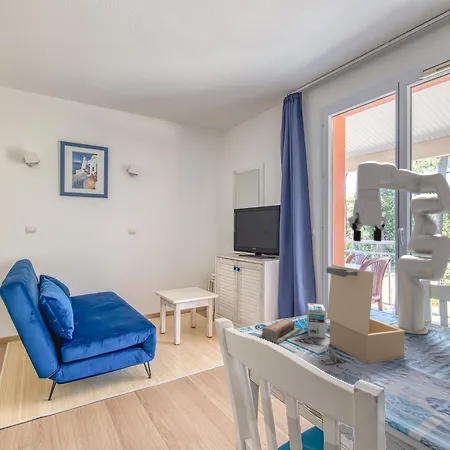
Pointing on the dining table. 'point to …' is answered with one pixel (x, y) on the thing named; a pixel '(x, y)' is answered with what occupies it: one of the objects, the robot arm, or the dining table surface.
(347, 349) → the kraft carton
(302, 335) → the dining table surface
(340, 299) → the carton lid
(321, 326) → the light bulb box
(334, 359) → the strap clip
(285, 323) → the packaged product
